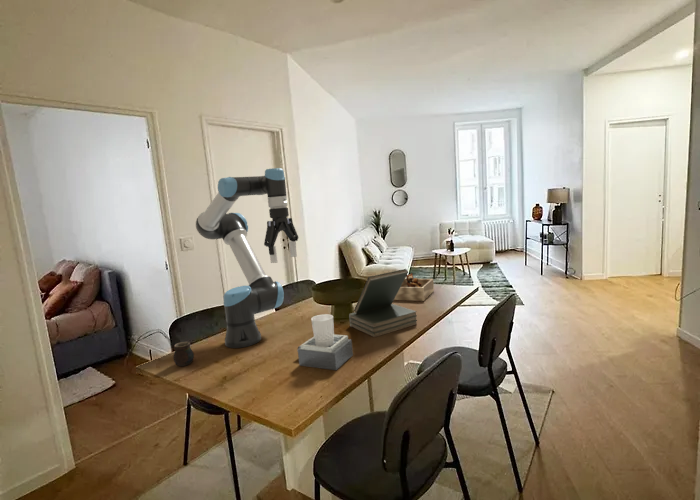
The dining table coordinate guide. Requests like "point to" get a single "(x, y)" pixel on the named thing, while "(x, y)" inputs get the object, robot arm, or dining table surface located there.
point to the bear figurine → (412, 281)
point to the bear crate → (415, 290)
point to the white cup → (323, 330)
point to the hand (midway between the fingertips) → (284, 259)
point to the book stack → (382, 306)
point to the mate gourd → (183, 354)
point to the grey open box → (325, 353)
